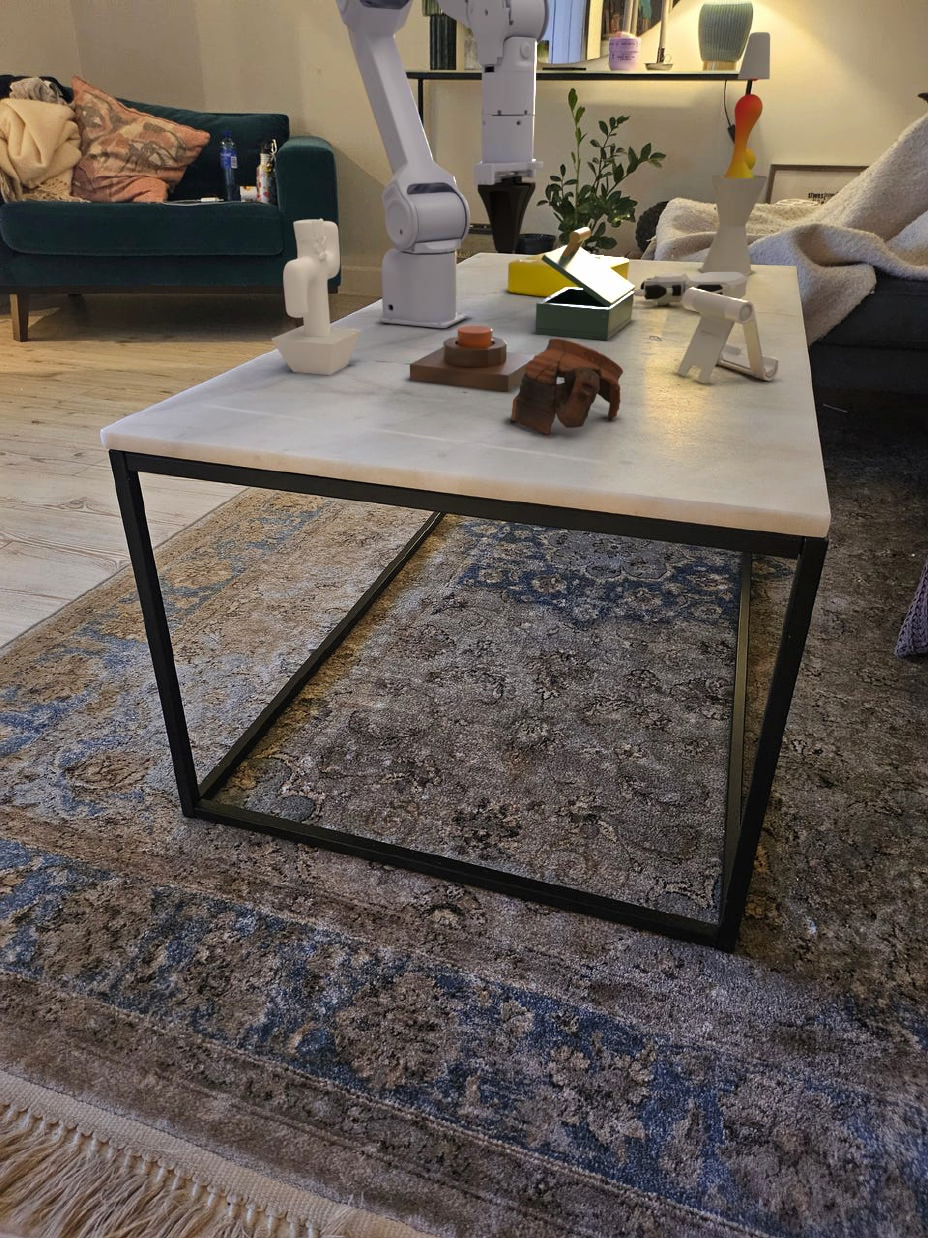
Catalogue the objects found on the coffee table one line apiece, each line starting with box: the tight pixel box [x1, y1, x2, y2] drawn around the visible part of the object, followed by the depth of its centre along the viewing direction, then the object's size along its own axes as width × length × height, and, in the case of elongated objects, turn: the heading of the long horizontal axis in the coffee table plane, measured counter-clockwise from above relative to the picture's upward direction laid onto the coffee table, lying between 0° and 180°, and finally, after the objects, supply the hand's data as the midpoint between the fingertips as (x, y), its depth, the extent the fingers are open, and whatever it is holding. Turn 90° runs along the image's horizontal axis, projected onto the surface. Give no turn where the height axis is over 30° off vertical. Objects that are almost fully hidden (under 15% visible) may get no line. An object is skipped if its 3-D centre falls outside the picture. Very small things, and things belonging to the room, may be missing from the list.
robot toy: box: [633, 272, 751, 306], centre depth 126 cm, size 12×4×15 cm
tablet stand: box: [677, 288, 779, 384], centre depth 92 cm, size 9×8×8 cm
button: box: [457, 325, 493, 347], centre depth 92 cm, size 4×4×2 cm
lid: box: [541, 226, 636, 308], centre depth 110 cm, size 10×12×4 cm
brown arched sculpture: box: [509, 337, 624, 436], centre depth 78 cm, size 12×10×8 cm
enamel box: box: [534, 287, 635, 341], centre depth 114 cm, size 9×12×4 cm
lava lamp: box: [700, 31, 771, 275], centre depth 145 cm, size 9×9×35 cm
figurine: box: [270, 218, 363, 376], centre depth 92 cm, size 7×9×15 cm
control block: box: [409, 336, 537, 393], centre depth 93 cm, size 11×9×4 cm
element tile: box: [507, 251, 630, 298], centre depth 137 cm, size 15×15×5 cm
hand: (505, 250), depth 102 cm, fingers closed
